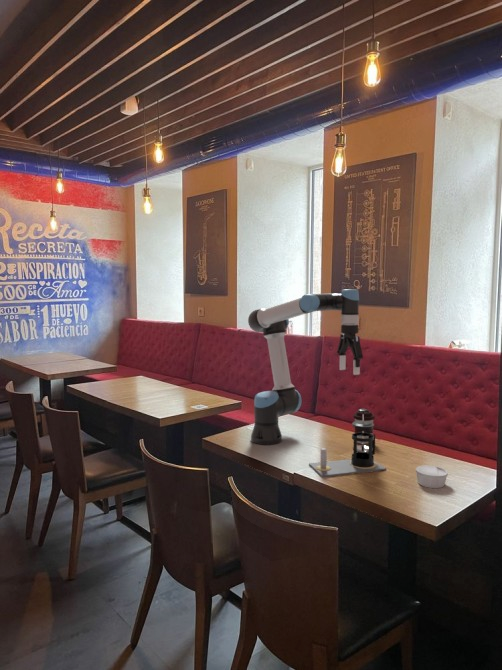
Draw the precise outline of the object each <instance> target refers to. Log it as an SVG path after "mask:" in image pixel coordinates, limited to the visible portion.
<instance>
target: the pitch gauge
mask: <svg viewBox="0 0 502 670" xmlns="http://www.w3.org/2000/svg"><path fill="white" fill-rule="evenodd" d="M327 452H328V451H327V448H324V447H323V448H320V462H311V463H310V462H309V463H308V466H309V467H310V468H311V469H312V470H313V471H314V472H315V473H317V474H318V475H319V476H320V477H321V478H328V477H329V478H330V477H338V475H340V476H346V475H345V474H349V475H353V474H352V473H358V474H363V473H362V472H366V473H372V472H371V471H375V472H381V470H384V471H387V468H386V467H385V466H384V465H382V464H380V463H379V462H377V461H376V460H374V465H373V466H372V467H357V466H354V465H352V464H351V461H352V458H348V459H340V460H339V459H338V460H330V461H329V460H328V461H327Z"/></svg>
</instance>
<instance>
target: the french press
mask: <svg viewBox="0 0 502 670" xmlns="http://www.w3.org/2000/svg"><path fill="white" fill-rule="evenodd" d="M357 411H362V414H363V421H356V422H355V421H353V422H351V426H352V428H353V429H355V427H358V428H359V429H361V430H362V431H364V432H369V431H372V430H373V431H374V426H375V423H374V422H373V423H371V422H367V421H364V412H367V411H370V410H368V409H366V408H359V409H357ZM364 432H358V433H355V432H354V433H352V434H351V439H352V440H353V446H352V450H353V453H351V459H352V461H351V464H352V465H354V466H357V467H372V466H373V465H374V461H375V459H374V458H375V456H374V455H375V454H376V434H375V433H364ZM360 435H362V438H357V436H360ZM363 436H369V438H367V439H363ZM357 441H360V442H362V444H360V445H358V443H357ZM363 442H369V444H368V445H364V444H363Z"/></svg>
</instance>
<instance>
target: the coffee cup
mask: <svg viewBox="0 0 502 670" xmlns="http://www.w3.org/2000/svg"><path fill="white" fill-rule="evenodd" d="M375 416H376V415H375V414H374V413H373V412H372V411H370V410H369V411H367V412H364V421H367V422H371V423H373V424H374V420H375ZM353 419H354V422H356V421H363V414H362V411H358V410H357V411H356V412H355V413H353ZM358 432H364V431H362V430H361V429H359V428H358V427H354V433H358ZM373 432H374V429H373V430H372V431H369V432H364V433H373ZM373 434H374V433H373ZM357 438H362V435H360V436H357ZM367 438H369V436H363V439H367ZM357 444H360V445H362V442H360V441H357ZM363 445H369V442H363Z"/></svg>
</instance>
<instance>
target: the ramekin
mask: <svg viewBox="0 0 502 670" xmlns="http://www.w3.org/2000/svg"><path fill="white" fill-rule="evenodd" d="M415 473H416V478H417V482H418V484H419V485H421V486H423V487H425V488H428V489H441V488H443V487H444V486H445V484H446V481H447V477H448V471H447V470H446V469H444V468H443V467H439V466H434V465H419V466H417V467H416V468H415Z"/></svg>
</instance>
